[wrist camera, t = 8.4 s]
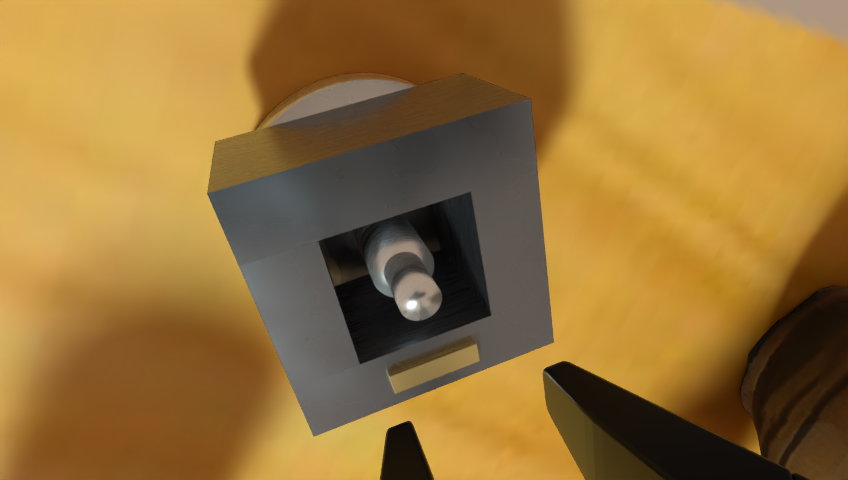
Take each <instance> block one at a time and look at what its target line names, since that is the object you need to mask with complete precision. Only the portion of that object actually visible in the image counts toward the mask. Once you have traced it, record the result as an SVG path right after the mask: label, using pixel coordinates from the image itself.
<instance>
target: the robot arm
mask: <svg viewBox="0 0 848 480" xmlns="http://www.w3.org/2000/svg"><path fill="white" fill-rule="evenodd" d="M543 381H544V390H545V399H546V405H547V409H548V412H549V414H550V416H551V418H552V420H553V422H554V424H555V425H556V427H557V429H558V431H559V433H560V434H561V436H562V438H563V440H564V442H565V444H566V445H567V447H568V449H569V451H570V453H571V454H572V456H573V458H574V460H575V462H576V464H577V465H578V467H579V469H580V471H581V473H582V474H583V476H584V478H585V480H810V479H808V478H806V477H804V476H802V475H800V474H798V473H792V474H791V472H790V471H789V469H787V468H785V467H783V466H781V465H779V464H777V463H775V462H773V461H771V460H769V459H767V458H765V457H763V456H761V455H759V454H757V453H754V452H752V451H750V450H748V449H746V448H744V447H742V446H740V445H738V444H736V443H734V442H732V441H730V440H728V439H726V438H724V437H722V436H720V435H718V434H716V433H714V432H711V431H709V430H707V429H705V428H703V427H701V426H699V425H697V424H695V423H693V422H691V421H689V420H687V419H685V418H683V417H681V416H679V415H677V414H675V413H673V412H671V411H668V410H666V409H664V408H662V407H660V406H658V405H656V404H654V403H652V402H650V401H648V400H646V399H644V398H642V397H640V396H638V395H636V394H634V393H632V392H630V391H628V390H625V389H623V388H621V387H619V386H617V385H615V384H613V383H611V382H609V381H607V380H605V379H603V378H601V377H599V376H597V375H595V374H593V373H591V372H589V371H587V370H584V369H582V368H580V367H578V366H576V365H574V364H572V363H570V362H567V361H562V362H559V363H557V364H554V365H552V366H549V367H546V368H545V369H544V371H543ZM380 480H434V477H433V475H432V472H431V469H430V467H429V464H428V462H427V459H426V457H425V454H424V451H423V449H422V446H421V444H420V441H419V439H418V436H417V434H416V431H415V428H414V426H413V424H412V423H411V422H410V421H407V422H404V423H401V424H399V425H396V426H394V427H391V428H389V429H388V430H387V433H386V438H385V446H384V453H383V461H382V468H381V476H380Z"/></svg>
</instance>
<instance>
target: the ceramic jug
mask: <svg viewBox="0 0 848 480" xmlns="http://www.w3.org/2000/svg"><path fill="white" fill-rule="evenodd" d="M740 397H741V401H742V404H743V406H744V408H745V409H746V410H747V412H748V413H749V414H750V415H751V417H752V420H753V423H754V426H755V428H756V431H757V435H758V440H759V446H760V451H761V456H763V457H765V458H767V459H769V460H771V461H773V462H775V463H777V464H779V465H781V466H783V467H785V468H787V469H789V471H790V472H791V474H792V473H798V474H800V475H802V476H804V477H806V478H808V479H810V480H848V287H839V286H836V285H835V286H832V287H828V288H824V289H821V290H818V291H817V292H816V293H815V295H814V296H813V297H811V298H810V299H808V300H807V301H806V302H804V303H803V304H802V305H801V306H800V307H798V308H797V309H796V310H795V311H794V312H793V313H791V314H790V315H788V316H786V317H784V318H782V319H781V320H779V321H778V322H777V323H776V324H775V325H774V326H773V327H772V328H771V329H770V331H769V332H768V333H767V334H766V335H765V336H764V337H763V338H762V340H761V341H760V342H759V343H758V344H757V346H756V347H755V348H754V349H753V350H752V352H751V353H750V354H749V363H748V372H747V374H746V375H745V377H744V379H743V382H742V386H741V390H740Z"/></svg>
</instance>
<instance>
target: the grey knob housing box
mask: <svg viewBox="0 0 848 480" xmlns="http://www.w3.org/2000/svg"><path fill="white" fill-rule="evenodd" d="M207 194H208V196H209V199H210V201H211V203H212V206H213V208H214V210H215V212H216V215H217V217H218V219H219V222H220V224H221V226H222V228H223V231H224V233H225V235H226V237H227V240H228V242H229V244H230V247H231V249H232V251H233V253H234V256H235V258H236V260H237V263H238V265H239V267H240V269H241V272H242V274H243V276H244V279H245V281H246V283H247V285H248V288H249V290H250V292H251V294H252V297H253V299H254V301H255V304H256V306H257V308H258V310H259V313H260V315H261V317H262V320H263V322H264V324H265V326H266V329H267V331H268V333H269V336H270V338H271V340H272V342H273V345H274V347H275V349H276V352H277V354H278V356H279V358H280V361H281V363H282V365H283V367H284V370H285V372H286V374H287V377H288V379H289V381H290V383H291V386H292V388H293V390H294V393H295V395H296V397H297V399H298V402H299V404H300V406H301V409H302V411H303V413H304V415H305V418H306V420H307V422H308V424H309V427H310V429H311V431H312V434H313V436H317V435H319V434H322V433H324V432H327V431H329V430H332V429H334V428H337V427H339V426H342V425H345V424H347V423H350V422H352V421H355V420H357V419H360V418H362V417H365V416H367V415H370V414H373V413H375V412H378V411H380V410H383V409H385V408H388V407H390V406H393V405H395V404H398V403H401V402H403V401H406V400H408V399H411V398H413V397H416V396H418V395H421V394H423V393H426V392H429V391H431V390H434V389H436V388H439V387H441V386H444V385H446V384H449V383H451V382H454V381H457V380H459V379H462V378H464V377H467V376H469V375H472V374H474V373H477V372H479V371H482V370H485V369H487V368H490V367H492V366H495V365H497V364H500V363H502V362H505V361H507V360H510V359H513V358H515V357H518V356H520V355H523V354H525V353H528V352H530V351H533V350H535V349H538V348H541V347H543V346H546V345H548V344H551V343H553V342H554V339H553V328H552V318H551V307H550V297H549V286H548V276H547V265H546V255H545V244H544V234H543V223H542V213H541V202H540V192H539V181H538V171H537V160H536V150H535V139H534V129H533V118H532V108H531V98H528V97H526V96H523V95H520V94H517V93H515V92H512V91H509V90H507V89H504V88H501V87H499V86H496V85H493V84H491V83H488V82H485V81H483V80H480V79H477V78H475V77H472V76H469V75H467V74H464V73H461V74H458V75H454V76H450V77H447V78H443V79H440V80H436V81H432V82H429V83H425V84H421V85H418V86H414V87H411V88H407V89H403V90H400V91H396V92H393V93H389V94H385V95H382V96H378V97H374V98H371V99H367V100H364V101H360V102H356V103H353V104H349V105H346V106H342V107H338V108H335V109H331V110H328V111H324V112H320V113H317V114H313V115H309V116H306V117H302V118H299V119H295V120H291V121H288V122H284V123H281V124H277V125H273V126H270V127H266V128H262V129H259V130H255V131H252V132H248V133H244V134H241V135H237V136H234V137H230V138H226V139H223V140H219V141H215V146H214V153H213V159H212V166H211V172H210V179H209V185H208V192H207ZM428 205H431V207H432V212H433V216H434V221H435V226H436V231H437V236H438V240H439V245H440V250H438V251H435V252H432V253H431V254H432V256H433V259H434V271H433V275H432V278H433V280H434V281H435V283H436V285H437V286H438V288H439V289H440V291H441V294H442V302H441V305H440V307H439V309H438V310H437V311H436V313H435V314H433V315H432V316H431V317H429V318H427V319H424V320H420V321H413V320H409V319H407V318H406V317H404V316H403V315H402V314H401V312H400V310H399V308H398V305H397V303H396V301H395V299H394V298H393V297H389V296H386V295H384V294H383V293H381V292H380V291H379V290H378V289H377V288H376V287H375V285H374V283H373V281H372V278H371V276H370V274H368V275H365V276H362V277H359V278H356V279H353V280H350V281H347V282H344V283H341V284H338V285H336V286H334V283H333V280H332V277H331V274H330V271H329V268H328V265H327V262H326V259H325V256H324V253H323V250H322V247H321V244H320V242H319V240H322V239H326V238H329V237H332V236H335V235H338V234H341V233H344V232H347V231H350V230H353V229H356V228H360V227H363V226H366V225H369V224H372V223H375V222H378V221H381V220H384V219H387V218H391V217H394V216H397V215H400V214H403V213H406V212H409V211H412V210H415V209H418V208H422V207H425V206H428Z"/></svg>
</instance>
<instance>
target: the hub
mask: <svg viewBox="0 0 848 480" xmlns="http://www.w3.org/2000/svg"><path fill="white" fill-rule="evenodd" d="M414 86H418V85H416V84H414V83H411V82H409V81H406V80H403V79H401V78H397V77H393V76H389V75H384V74H375V73H350V74H343V75H338V76H333V77H329V78H326V79H323V80H320V81H317V82H314V83H312V84H310V85H308V86H306V87H304V88H302V89H300V90H298V91H296V92H295V93H293V94H292V95H290V96H289V97H288V98H286V99H285V100H283V101H282V102H281V103H280V104H279V105H278V106H276V107H275V108H274V109H273V110H272V111H271V112H270V113H269V114H268V115H267V116H266V118H265V119H264V120H263V121H262V122H261V124H260V125H259V126H258V127H257V129H256V130H259V129H262V128H266V127H270V126H273V125H277V124H281V123H284V122H288V121H291V120H295V119H299V118H302V117H306V116H309V115H313V114H317V113H320V112H324V111H328V110H331V109H335V108H338V107H342V106H346V105H349V104H353V103H356V102H360V101H364V100H367V99H371V98H374V97H378V96H382V95H385V94H389V93H393V92H396V91H400V90H403V89H407V88H411V87H414ZM319 242H320V244H321V247H322V250H323V253H324V256H325V259H326V262H327V265H328V268H329V271H330V274H331V277H332V280H333V283H334V286H336V285H338V284H341V283H344V282H347V281H350V280H353V279H356V278H359V277H362V276H365V275H368V274H370V276H371V278H372V281H373V283H374V285H375V287H376V288H377V289H378V290H379V291H380V292H381V293H383V294H384V295H386V296H389V297H393V298H394V299H395V301H396V303H397V305H398V308H399V310H400V312H401V314H402V315H403V316H404V317H406V318H407V319H409V320H413V321H420V320H424V319H427V318H429V317H431V316H432V315H433V314H435V313H436V311H437V310H438V309H439V307H440V305H441V302H442V294H441V291H440V289H439V288H438V286H437V285H436V283H435V281H434V280H433V278H432V275H433V271H434V259H433V256H432V254H431V253H432V252H435V251H438V250H440V245H439V240H438V236H437V231H436V226H435V221H434V216H433V212H432V207H431V205H428V206H425V207H422V208H418V209H415V210H412V211H409V212H406V213H403V214H400V215H397V216H394V217H391V218H387V219H384V220H381V221H378V222H375V223H372V224H369V225H366V226H363V227H360V228H356V229H353V230H350V231H347V232H344V233H341V234H338V235H335V236H332V237H329V238H326V239H322V240H319Z"/></svg>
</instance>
